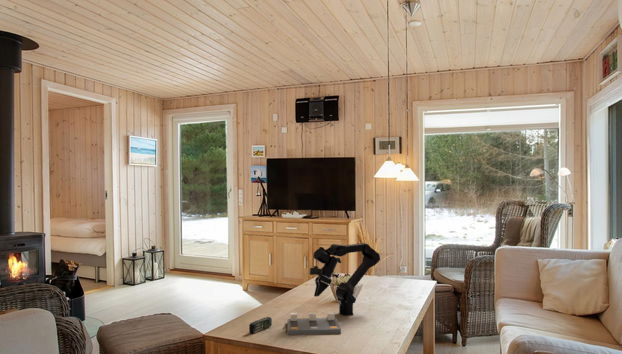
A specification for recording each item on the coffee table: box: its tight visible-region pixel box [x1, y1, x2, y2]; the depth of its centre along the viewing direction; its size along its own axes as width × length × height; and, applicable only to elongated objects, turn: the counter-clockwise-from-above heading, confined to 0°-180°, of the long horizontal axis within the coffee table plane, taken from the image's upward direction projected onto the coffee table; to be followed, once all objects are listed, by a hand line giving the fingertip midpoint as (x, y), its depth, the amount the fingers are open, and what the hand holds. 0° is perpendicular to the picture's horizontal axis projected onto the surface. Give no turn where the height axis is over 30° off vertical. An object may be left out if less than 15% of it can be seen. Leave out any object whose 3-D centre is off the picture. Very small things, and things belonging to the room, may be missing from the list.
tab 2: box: [327, 311, 335, 320], centre depth 206 cm, size 3×2×3 cm
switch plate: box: [286, 317, 342, 336], centre depth 201 cm, size 24×16×2 cm, turn 94°
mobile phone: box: [248, 316, 273, 335], centre depth 198 cm, size 5×3×15 cm
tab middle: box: [308, 312, 317, 321], centre depth 206 cm, size 3×2×3 cm
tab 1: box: [290, 312, 298, 321], centre depth 205 cm, size 3×2×3 cm
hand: (316, 296), depth 212 cm, fingers open, 9 cm apart
